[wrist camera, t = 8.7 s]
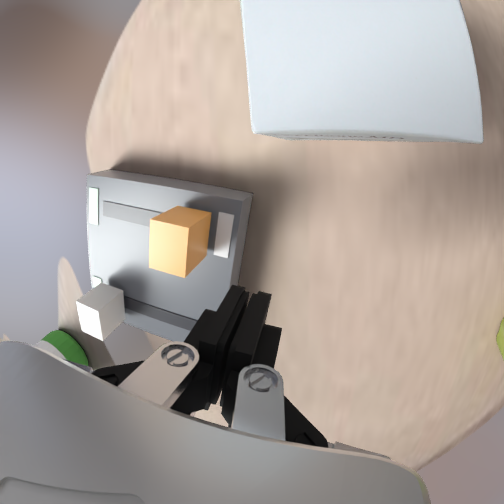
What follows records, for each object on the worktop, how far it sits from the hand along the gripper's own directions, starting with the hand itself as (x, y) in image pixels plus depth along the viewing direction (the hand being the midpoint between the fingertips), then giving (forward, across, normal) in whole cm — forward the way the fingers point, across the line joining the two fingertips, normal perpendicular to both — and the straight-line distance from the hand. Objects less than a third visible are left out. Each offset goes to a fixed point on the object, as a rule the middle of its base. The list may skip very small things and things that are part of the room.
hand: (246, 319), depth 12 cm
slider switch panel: (+11, +9, +3) cm, 14 cm away
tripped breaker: (+7, +5, -1) cm, 9 cm away
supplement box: (+10, -2, -12) cm, 16 cm away
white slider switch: (+7, +12, +7) cm, 16 cm away
